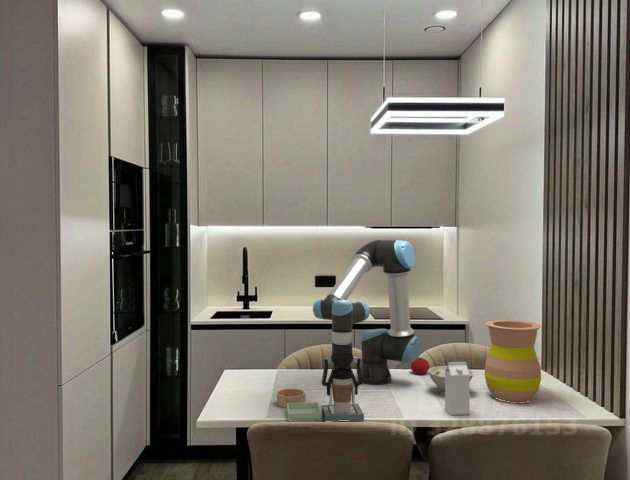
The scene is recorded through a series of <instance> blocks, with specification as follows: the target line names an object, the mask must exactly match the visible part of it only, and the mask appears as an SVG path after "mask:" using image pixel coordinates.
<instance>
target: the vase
mask: <svg viewBox="0 0 630 480" xmlns="http://www.w3.org/2000/svg"><path fill="white" fill-rule="evenodd" d="M485 325H486V326H487V327H488V332H489V337H490V341H491V346H490V349H489V350H488V351H489V352H488V355H487V357H486V360H485V364H484V378H485V382H486V386H487V389H488V390H489V392H490V394H491V395H492V397H493V396H494V397H495V398H494V397H493V398H494V399H496V398H498V399H501V400H505V401H510V402H527V401H530V402H531V400H532V401H533V400H534V398H535V397H536V395H537V394H538V392H539V388H540V385H541V381H542V370H541V364H540V362H539V358H538V355H537V352H536V349H535V344H536V340H537V335H538V330H539V329H540V328H541V326H542V325H540V324H539V323H536V322H530V321H525V320H513V319H512V320H509V319H502V320H501V319H500V320H499V319H498V320H489V321H486V322H485ZM498 399H497V400H498ZM510 402H509V403H510ZM527 403H528V402H527Z"/></svg>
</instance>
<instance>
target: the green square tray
mask: <svg viewBox="0 0 630 480" xmlns="http://www.w3.org/2000/svg"><path fill="white" fill-rule="evenodd" d="M286 414H287V421H288V420H308V421H322V420H323V414H322V407H320V402H319V401H318V402H317V401H312V402H311V401H309V402H307V401H305V403H287V408H286Z"/></svg>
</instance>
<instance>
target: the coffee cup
mask: <svg viewBox="0 0 630 480" xmlns="http://www.w3.org/2000/svg"><path fill="white" fill-rule="evenodd" d="M332 372H333V375H332V378H333V381H332V384H331V386H332V401H333V405H334V410H335V411H337V412H348V411H350V405H351V404H352V385H353V384H354V383H353V381H352V378H353V374H354V373H353V370H352V371H351V372H349V371H348V369H347V368H338V370H337V372H336V371H333V367H332V369H331V371H330V374H331V373H332Z"/></svg>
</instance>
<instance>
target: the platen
mask: <svg viewBox="0 0 630 480" xmlns="http://www.w3.org/2000/svg"><path fill="white" fill-rule="evenodd" d="M329 411H330V414H331V415H333V414H356V412H355V410H354V408H353V406H352V405H350V411H348V412H337V411H335V410H334V406H329Z"/></svg>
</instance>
